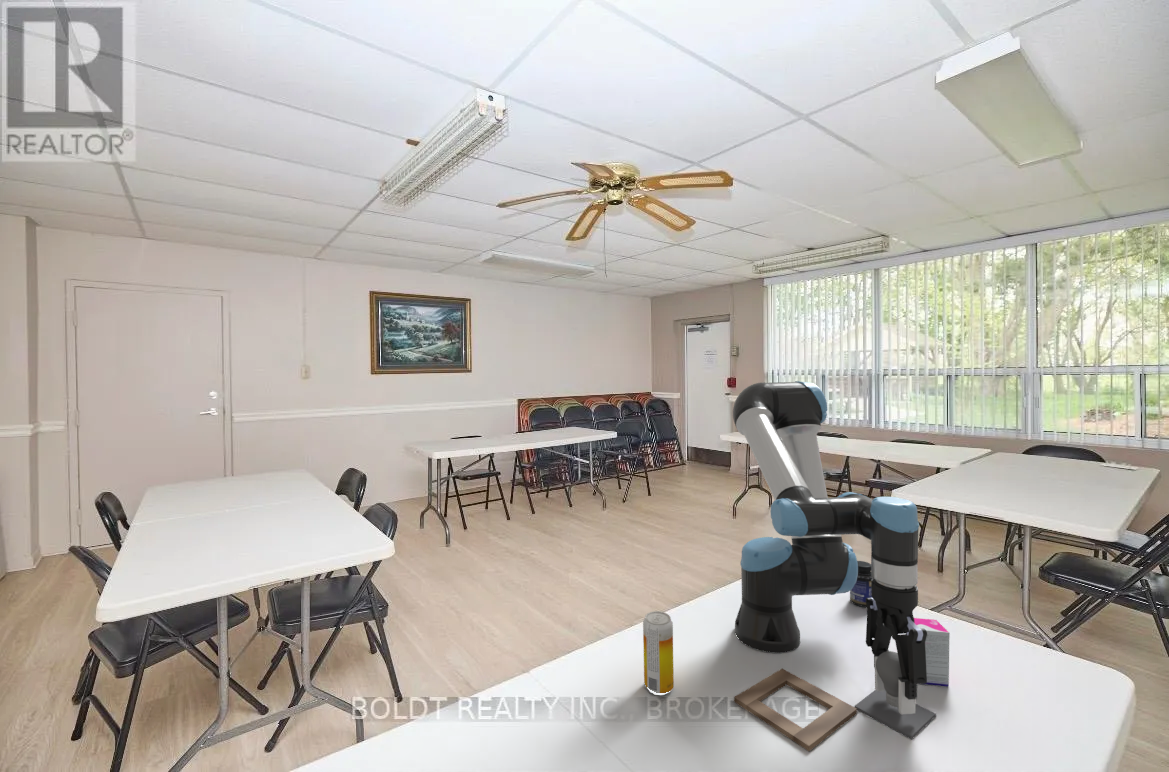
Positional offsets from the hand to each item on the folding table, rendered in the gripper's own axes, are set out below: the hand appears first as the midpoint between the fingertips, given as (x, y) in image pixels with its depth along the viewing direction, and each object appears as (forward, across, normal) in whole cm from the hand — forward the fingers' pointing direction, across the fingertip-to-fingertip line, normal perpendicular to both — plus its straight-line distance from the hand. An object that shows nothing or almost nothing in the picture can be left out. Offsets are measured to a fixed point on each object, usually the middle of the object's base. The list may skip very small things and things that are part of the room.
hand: (894, 700), depth 95 cm
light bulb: (+1, 0, 0) cm, 1 cm away
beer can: (+3, +12, +43) cm, 45 cm away
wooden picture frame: (+2, +3, +18) cm, 19 cm away
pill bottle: (+3, +42, -22) cm, 48 cm away
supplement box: (+3, +9, -14) cm, 17 cm away
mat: (+2, 0, 0) cm, 2 cm away
